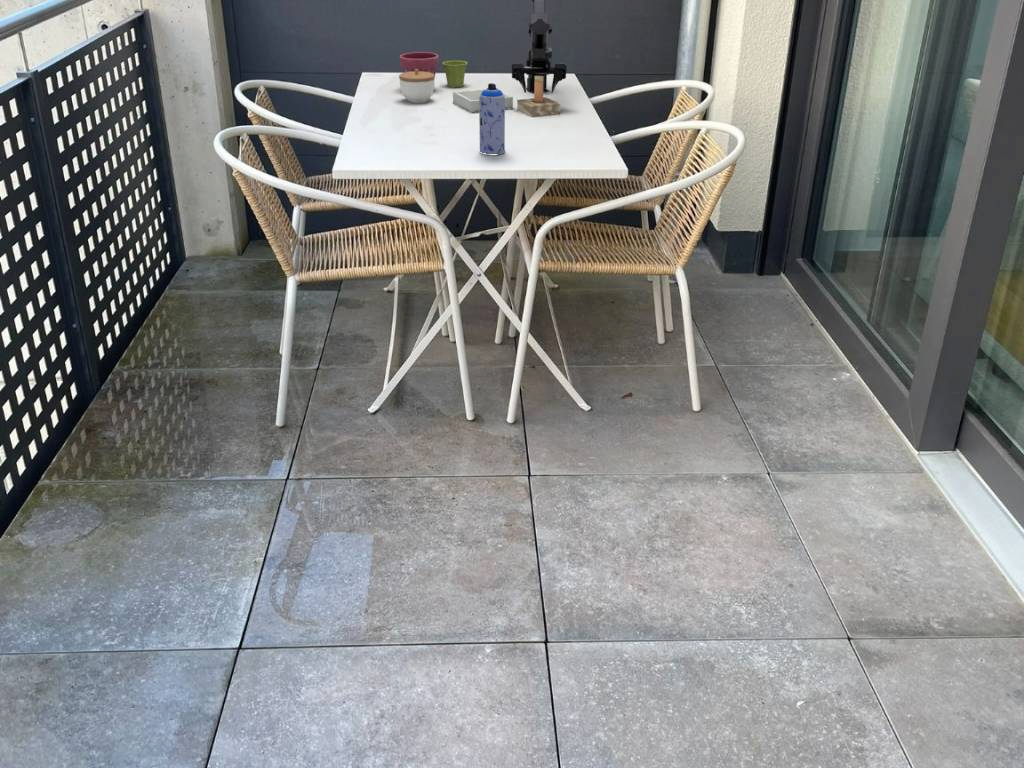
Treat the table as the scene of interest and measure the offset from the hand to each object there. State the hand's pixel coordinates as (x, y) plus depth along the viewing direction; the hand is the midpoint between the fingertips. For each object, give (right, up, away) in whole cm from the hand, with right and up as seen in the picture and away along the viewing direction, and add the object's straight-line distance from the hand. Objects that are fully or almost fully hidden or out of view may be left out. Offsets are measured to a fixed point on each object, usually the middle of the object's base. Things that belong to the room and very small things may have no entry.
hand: (538, 92), depth 345 cm
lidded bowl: (-43, +2, +19) cm, 47 cm away
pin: (0, -6, +4) cm, 7 cm away
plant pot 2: (-31, +14, +41) cm, 53 cm away
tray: (-19, -1, +12) cm, 23 cm away
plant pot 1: (-44, +10, +34) cm, 56 cm away
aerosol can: (-15, -30, -42) cm, 54 cm away
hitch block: (0, -6, +4) cm, 7 cm away
